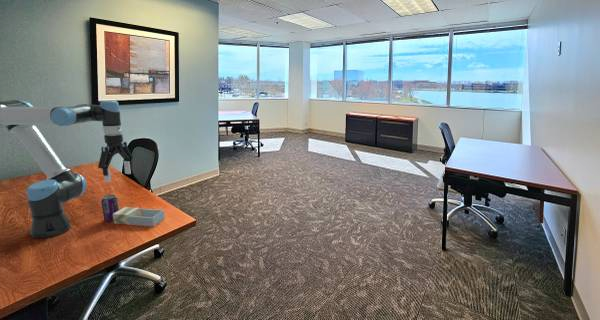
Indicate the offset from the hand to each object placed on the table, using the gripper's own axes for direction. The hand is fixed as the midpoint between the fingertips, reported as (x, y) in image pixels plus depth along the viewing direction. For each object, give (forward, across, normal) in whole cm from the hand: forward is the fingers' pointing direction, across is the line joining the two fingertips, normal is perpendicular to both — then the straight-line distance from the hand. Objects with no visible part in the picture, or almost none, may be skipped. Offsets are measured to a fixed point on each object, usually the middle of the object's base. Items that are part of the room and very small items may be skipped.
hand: (118, 177), depth 157 cm
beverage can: (+23, +1, +7) cm, 24 cm away
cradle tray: (+22, +1, -12) cm, 25 cm away
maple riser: (+22, +1, -1) cm, 23 cm away
